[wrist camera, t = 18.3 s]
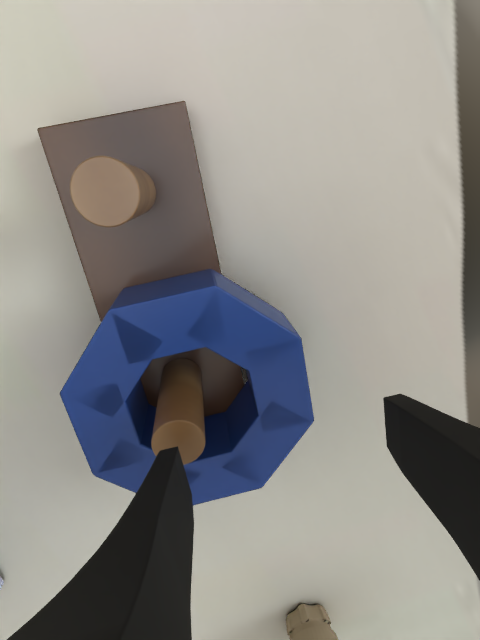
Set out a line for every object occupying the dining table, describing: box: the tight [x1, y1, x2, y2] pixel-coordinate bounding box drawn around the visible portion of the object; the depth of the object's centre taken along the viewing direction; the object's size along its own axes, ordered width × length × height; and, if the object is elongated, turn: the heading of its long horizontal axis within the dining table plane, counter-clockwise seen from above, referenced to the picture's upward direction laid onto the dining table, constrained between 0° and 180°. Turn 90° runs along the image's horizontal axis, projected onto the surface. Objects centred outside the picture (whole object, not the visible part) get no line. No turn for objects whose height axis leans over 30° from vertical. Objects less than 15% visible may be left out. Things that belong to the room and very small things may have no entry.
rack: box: [38, 101, 244, 465], centre depth 16 cm, size 6×15×7 cm, turn 11°
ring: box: [60, 269, 314, 505], centre depth 18 cm, size 10×10×3 cm
